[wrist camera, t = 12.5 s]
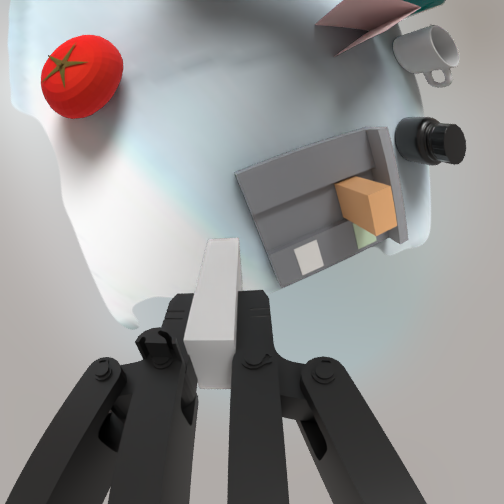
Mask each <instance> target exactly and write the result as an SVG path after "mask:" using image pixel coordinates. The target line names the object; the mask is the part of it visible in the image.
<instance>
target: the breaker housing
mask: <svg viewBox="0 0 504 504" xmlns="http://www.w3.org/2000/svg"><path fill="white" fill-rule="evenodd" d="M234 173H235V176H236V178H237V181H238V183H239V185H240V188H241V190H242V193H243V195H244V198H245V200H246V203H247V205H248V208H249V210H250V213H251V215H252V218H253V220H254V223H255V225H256V228H257V230H258V233H259V235H260V238H261V240H262V243H263V245H264V248H265V250H266V253H267V255H268V258H269V260H270V263H271V265H272V268H273V270H274V273H275V275H276V278H277V280H278V282H279V284H280V286H281V288H283V287H285V286H288V285H290V284H292V283H294V282H297V281H299V280H301V279H303V278H306V277H308V276H310V275H312V274H314V273H317V272H319V271H321V270H323V269H325V268H327V267H329V266H332V265H334V264H336V263H338V262H340V261H342V260H344V259H346V258H348V257H351V256H353V255H355V254H357V253H359V252H361V251H363V250H365V249H367V248H369V247H371V246H373V245H375V244H377V243H379V242H381V241H383V240H385V239H387V238H391V239H392V240H394V241H396V242H397V243H399V244H401V243H403V242H405V241H407V240H408V232H407V224H406V216H405V209H404V202H403V196H402V190H401V184H400V179H399V174H398V169H397V164H396V159H395V155H394V151H393V146H392V142H391V138H390V135H389V131H388V127H364V128H361V129H357V130H354V131H350V132H347V133H344V134H340V135H337V136H334V137H331V138H328V139H324V140H321V141H318V142H315V143H312V144H309V145H306V146H303V147H300V148H298V149H295V150H292V151H289V152H286V153H284V154H281V155H278V156H275V157H273V158H270V159H267V160H265V161H262V162H259V163H257V164H254V165H252V166H249V167H247V168H244V169H242V170H239V171H237V172H234ZM352 176H357V177H360V178H364V179H368V180H371V181H375V182H378V183H382V184H385V185H389V186H391V190H392V195H393V201H394V207H395V213H396V220H397V226H396V227H394V228H392V229H390V230H388V231H386V232H384V233H382V234H380V235H378V236H375V235H373V234H371V233H370V232H368V231H366V230H365V229H363V228H361V227H359V226H358V225H356V224H354V223H353V222H351V221H349V220H347V219H346V218H344V217H343V215H342V211H341V207H340V203H339V200H338V196H337V192H336V189H335V185H334V183H337V182H339V181H342V180H345V179H347V178H350V177H352Z"/></svg>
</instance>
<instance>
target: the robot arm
mask: <svg viewBox="0 0 504 504" xmlns="http://www.w3.org/2000/svg"><path fill="white" fill-rule="evenodd" d="M135 343H136V345H137V347H138V349H139V351H140V353H141V355H142V357H143V360H141V361H138V362H135V363H130V364H125V365H120V364H119V363H118V361H117V360H115V359H113V358H109V357H105V358H100V359H98V360H96V361H94V362H93V363H92V364H91V365H90V366H89V367H88V369H87V370H86V372H85V373H84V374H83V376H82V377H81V378H80V380H79V381H78V383H77V384H76V386H75V387H74V389H73V390H72V392H71V393H70V394H69V396H68V397H67V399H66V400H65V402H64V403H63V405H62V407H61V408H60V409H59V411H58V413H57V414H56V415H55V417H54V419H53V420H52V422H51V423H50V425H49V426H48V428H47V430H46V431H45V433H44V434H43V436H42V438H41V439H40V441H39V443H38V444H37V446H36V448H35V449H34V451H33V453H32V454H31V456H30V458H29V460H28V461H27V463H26V465H25V467H24V469H23V470H22V472H21V474H20V476H19V478H18V480H17V481H16V483H15V485H14V487H13V489H12V491H11V493H10V495H9V497H8V499H7V501H6V503H5V504H102V503H103V501H104V499H105V497H106V495H107V493H108V491H109V489H110V487H111V489H110V494H109V501H108V504H189V499H190V485H191V472H192V460H193V450H194V439H195V428H196V419H197V410H198V396H197V393H196V388H197V382H198V385H199V387H200V388H201V389H231V399H230V425H229V458H228V501H227V502H228V503H227V504H289V495H288V481H287V470H286V457H285V445H284V433H283V423H282V417H285V418H289V419H294V420H296V421H297V424H298V426H299V428H300V431H301V433H302V435H303V437H304V440H305V442H306V444H307V446H308V449H309V451H310V453H311V456H312V457H313V460H314V462H315V465H316V467H317V469H318V471H319V473H320V476H321V478H322V480H323V482H324V484H325V487H326V489H327V491H328V493H329V495H330V497H331V499H332V502H333V504H426V502H425V500H424V498H423V496H422V495H421V493H420V491H419V489H418V488H417V486H416V484H415V483H414V481H413V479H412V478H411V476H410V474H409V473H408V471H407V469H406V467H405V466H404V464H403V462H402V461H401V459H400V457H399V456H398V454H397V452H396V451H395V449H394V447H393V446H392V444H391V442H390V441H389V439H388V437H387V436H386V434H385V433H384V431H383V429H382V427H381V426H380V424H379V423H378V421H377V419H376V418H375V416H374V414H373V413H372V411H371V410H370V408H369V406H368V405H367V403H366V401H365V400H364V398H363V397H362V395H361V393H360V392H359V390H358V389H357V387H356V385H355V384H354V382H353V381H352V379H351V377H350V376H349V374H348V373H347V371H346V369H345V368H344V366H342V364H340V362H339V361H337V360H335V359H333V358H329V357H317V358H314V359H312V360H310V361H308V362H307V363H306V364H301V363H296V362H291V361H288V360H286V359H284V358H282V357H281V356H280V355H279V354H278V353H277V352H276V350H275V348H274V344H273V334H272V324H271V315H270V305H269V298H268V296H267V295H266V294H265V292H264V291H263V290H253V291H242V273H241V260H240V247H239V238H221V239H208V242H207V246H206V250H205V253H204V257H203V261H202V265H201V269H200V273H199V276H198V280H197V284H196V288H195V292H194V293H189V294H177V295H176V296H175V297H174V298H173V299H172V300H171V301H170V303H169V306H168V309H167V313H166V315H165V320H164V321H163V324H162V327H161V328H160V327H159V328H152V329H149V330H147V331H145V332H143V333H142V334H141V335H140V336H138V338H137V340H136V341H135Z"/></svg>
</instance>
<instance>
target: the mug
mask: <svg viewBox="0 0 504 504" xmlns="http://www.w3.org/2000/svg"><path fill="white" fill-rule="evenodd" d="M393 51H394V55H395V57H396V59H397V61H398V62H399V64H400V65H401V66H402V67H403V68H404V69H405V70H407V71H408V72H410V73H422V72H423V73H424V76H425V78H426V80H427V82H428V83H429V84H430V85H431V86H434V87H446V86H449V85H450V84H451V83H452V74H451V71H450V68H454V67H456V66H457V65H458V64H459V59H460V57H459V51H458V48H457V46H456V43H455V41H454V40H453V38H452V37H451V35H450V34H449V33H448V32H447V31H446V30H445V29H444V28H442V27H440V26H438V25H432V26H429V27H426V28H423V29H420V30H417V31H414V32H411V33H408V34H405V35H402V36H399V37H397V38H396V39H395V40H394V42H393ZM439 69H440V70H442V71H443V73H444V75H445V81H444V82H442V83H438V82H435V81H434V79H433V77H432V74H431V72H432V71H433V70H439Z"/></svg>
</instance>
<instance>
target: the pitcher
mask: <svg viewBox="0 0 504 504" xmlns="http://www.w3.org/2000/svg"><path fill="white" fill-rule="evenodd" d="M402 1H405V2H408V3H411V4H414V5H416V6H419V7H421V8H420V9H418V10H416V11H415V12H413V13H412V14H410V15H409V16H407V17H406V18H409V17H411V16H414V15H416V14H419V13H421V12H424V11H427V10H429V9H432V8H435V7H438V6H441V5H443V4H444V2H445V1H446V0H402ZM406 18H404V19H406ZM404 19H403V20H404ZM401 21H402V20H401Z"/></svg>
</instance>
